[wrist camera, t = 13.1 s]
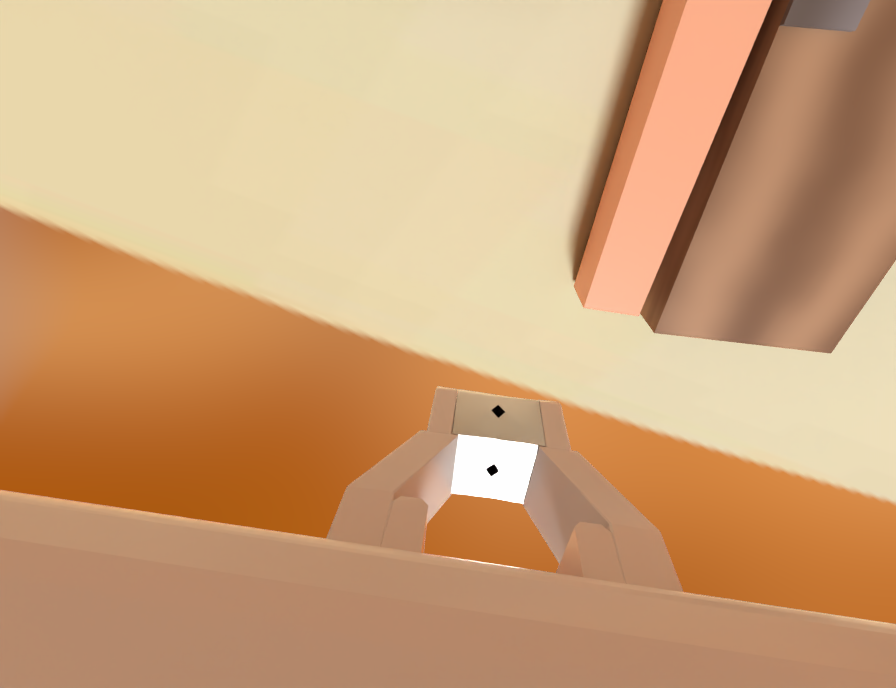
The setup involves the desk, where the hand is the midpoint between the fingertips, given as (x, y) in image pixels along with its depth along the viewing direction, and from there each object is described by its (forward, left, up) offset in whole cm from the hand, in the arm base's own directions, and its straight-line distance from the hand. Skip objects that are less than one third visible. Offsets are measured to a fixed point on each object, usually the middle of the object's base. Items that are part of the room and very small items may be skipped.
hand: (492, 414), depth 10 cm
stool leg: (-9, -5, -20) cm, 22 cm away
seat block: (-17, -5, -20) cm, 26 cm away
